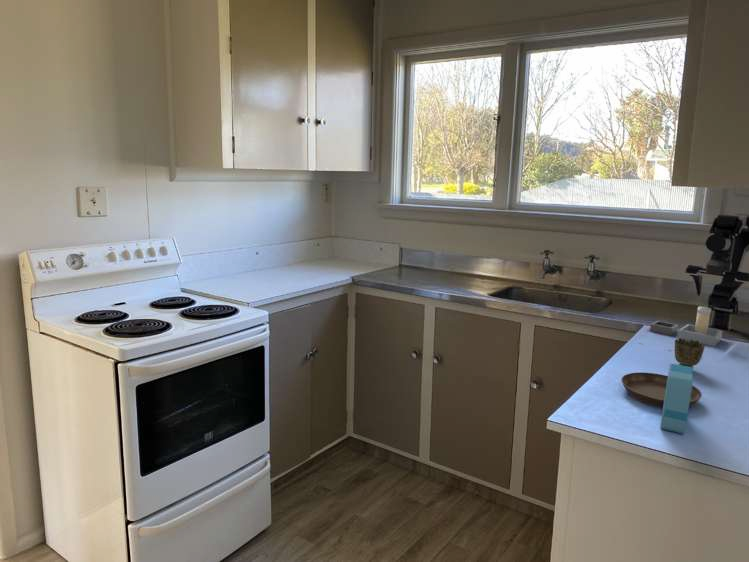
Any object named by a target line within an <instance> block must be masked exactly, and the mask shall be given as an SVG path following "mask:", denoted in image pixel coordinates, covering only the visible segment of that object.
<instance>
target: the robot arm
mask: <svg viewBox="0 0 749 562" xmlns="http://www.w3.org/2000/svg"><path fill="white" fill-rule="evenodd" d="M708 233H709V234H711V235H710V236H708V237H707V239H706V240H705V246H706V249H708V250H709V251H710V252H712V253H711V256H710V259H709V260H708V262H707V263H706V266H705V268H704V266H703V265H696V264H688V265H686V269H685V274H689V276H690V277H692V279H693V281H694V284H695V290H696V293H697V294H696V295H697V296H698V297H700V296H701V292H702V284H703V283H702V282H703V277H704V276H703V275H702V274H704V275H711V276H719V277H722V279H721V281H720V283H719V284H718V283H717V284H715V285H714V286H713V290H712V293H710V294H709V295H708V301H707V303H708V304H707V307H709V308H711V311H712V316H711V322H710V324H708V328H710V329H715V330H720V331H727V332H729V331H730V330H731V329H732V328H733V327H732V326H730V324H731V320H732V316H733V315H734V316H735V315H739V311H740V302H739V299H738V293H737V291H738V290H739V288H741V286H742V285H744V284H747V282H748V283H749V271H748V272H747V271H741V269H742V266H743V263H744V261H745V257H746V254H747V252H749V214H741V213H738V214H734V215H731V214H722V213H719V214H717V216H716V217H715V218H714V220H713V222H712V224H711V228H710V229H709V232H708Z"/></svg>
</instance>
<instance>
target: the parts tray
mask: <svg viewBox="0 0 749 562" xmlns="http://www.w3.org/2000/svg"><path fill="white" fill-rule="evenodd" d="M694 330H695V325H694V324H690V323H687V324H686V325H684V326H683V327H681V328H678V331H679V333H678V335H677V340H679V338H681V339H682V340H683V339H685V341H686V342H687V341H688V342H690V340H693V341H698V342H699V343H700V344H701V343H702V344H703V345H704V344H705V346H710V347H715V346H716V345H717V344H718V343H720V342H721V341H722V337H723V332H724V330H721V329H716V328H711V327H708V330H707V335H705V334H700V333H695V332H694Z"/></svg>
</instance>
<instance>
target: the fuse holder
mask: <svg viewBox="0 0 749 562" xmlns="http://www.w3.org/2000/svg"><path fill="white" fill-rule="evenodd" d="M645 332H648V333H653V334H658V335H663V336H666V337H671V338H675V337H678V333H679V324H675V323H671V322H666V321H662V320H656V321H654V322H652V323H650V326H649V328H648V329H647V330H645Z"/></svg>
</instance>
